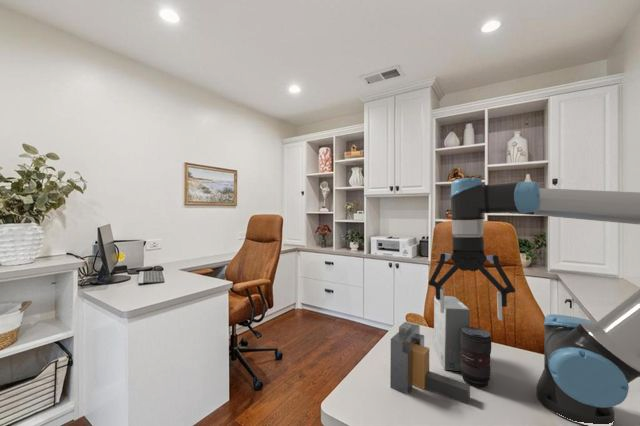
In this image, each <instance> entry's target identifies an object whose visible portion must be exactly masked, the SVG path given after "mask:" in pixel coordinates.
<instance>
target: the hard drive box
mask: <svg viewBox="0 0 640 426" xmlns="http://www.w3.org/2000/svg"><path fill="white" fill-rule="evenodd" d="M433 297H434V298H433V300H434V301H433V305H434V306H433V349H434V351H435V353H436V355H437V357H438V360H439V361H440V364H441V365H442V367H443V369H444V370H446V371H455V372H461V366H460V363H461V343H460V341H461V331H462V328H463V327H471V325H470V322H471V321H470V317H471V309H470V308H469V307H467V306H466V304H465V303H463V302H462V301H461V300H460V299H458V298H457V297H456V296H451V295H450V296H449V295H444V313H441V307H440V300H437V299H436V295H434V296H433Z"/></svg>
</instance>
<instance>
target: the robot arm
mask: <svg viewBox="0 0 640 426" xmlns="http://www.w3.org/2000/svg"><path fill="white" fill-rule="evenodd" d="M450 207H451V234H452V235H453V237H452V241H451V242H452V253H446V252H441V254H440V255H439V256H440V257H439V261H438V264H437V266H436V268H435V270H434V272H433V273H432V276H431V277H430V280H429V281H428V285H429V286H431V287H434V289H435V296H436V299H437V300H440V307H441V313H444V296H445V288H444V286H443V285H444V284H445V283H446V282H447V281H448V280H449V279H450V278H451V277H452V275H454V273H456V272H457V271H458V270H461V271H463V272H464V271H465V272H466V271H469V272H476V271H478V270H479V272H481V273H482V275H484V277H486V278H487V280H488V281H489V282H490V283H491V284H492V285H493V286H494V287H495V288H496V289H497V290H498V291H497V292H496V299H497V300H496V304H497V307H496V309H497V319H498V321H503V307H505V308H506V307H507V306H508V301H507V299H508V298H507V297H508V294H510V293H511V294H512V293H515V292H516V289H515V287H514V285H513V283H511V281H510V278H508V276H507V274H506V272H505V271H504V269H503V267H502V266H501V264H500V259H499V256H498V255H497V254H496V253H493V254H491V255H486V254H485V241H484V239H485V238H484V237H483V235H484V214H513V215H514V214H518V215H530V216H542V217H553V218H563V219H565V218H566V219H576V220H587V221H597V222H607V223H608V222H609V223H618V224H619V223H621V224H630V225H640V192H639V191H638V192H636V191H618V190H617V191H616V190H615V191H614V190H612V191H611V190H591V189H589V190H588V189H587V190H586V189H567V188H542V187H540V185H539V182H536V181H518V182H506V183H505V182H504V183H496V184H495V183H494V184H483V181H482V178H480V177H463V178H457V179H455V180H453V181H452V182H451V190H450ZM449 259H451V261H453V263H454V264H453V265H452V266H451V268H449V270H447V272H446V273H445V274H444V275H443V276H441V278H440V279H439V280H438V281H436V279H437V278H438V276H439V274H440V272H441V270H442V269H443V267H444V264H445V262H448V261H449ZM486 261H489V263H490V264H493V266H494V267H495V269H496V270H497V273H498V275H499V276H500V277H501V279H502V281H503V282H504V284H505V286H506V287H504V286H503V285H502V284H501V283H500V282H499V281H498V279H496V278H495V277H494V276H493V275H492V273H490V272H489V270H488V268H486V267H485V266H484V264H485V263H486ZM543 326H544V337H543V339H544V340H543V341H544V344H543V345H544V350H543V351H544V352H543V353H544V357H543V358H544V361H543V362H544V366H543V371H542V372H541V375H540V377H539V378H538V381H537V384H536V386H535V397H536V398H537V400H538V402H539V403H540V404H541V405H542V406H544V408H546V409H547V410H549V411H550V410H551V411H550V412H552V411H553V412H555V413H558V414H560V415H562V416H564V417H566V418H568V419H571V420H573V421H577V422H584V423H593V424H609V423H612V422H613V421H614V422H615V411H614V408H613V407H615V406H619V405H621V404H622V403H623V402H625V400H626V398H627V397H628V393H629V388H630V387H629V384H630V383H631V382H633V381H634V380H636V379H637V378H638V377H640V288H639V289H638V290H637V291H636V292H634V293H632V295H630V296H629V297H628V298H627V299H625V300H624V301H623V302H621V303H620V304H619V305H617V306H616V307H615V308H613V309H612V310H611V311H609V312H608V313H607V314H605V315H604V316H603V317H602V318H600V319H599V320H597V321H594V320H590V319H585V318H582V317H577V316H571V315H565V314H564V315H563V314H554V313H553V314H548V315H547V314H546V316H545V317H544V323H543ZM553 412H552V413H553ZM555 413H554V414H555Z"/></svg>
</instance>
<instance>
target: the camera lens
mask: <svg viewBox="0 0 640 426" xmlns="http://www.w3.org/2000/svg"><path fill="white" fill-rule="evenodd" d="M460 343H461V363H460V366H461V371H460V373H461V375H462V380H463V382H464V383H466V384H469V385H470V387H474V388H478V389H483V388H484V389H485V388H487V387H488V386H489V381H490V378H491V367H492V366H491V353H492V336H491V332H489V331H487V330H485V329H482V328H479V327H475V326H470V327H463V328H462V331H461V341H460Z"/></svg>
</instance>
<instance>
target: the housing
mask: <svg viewBox="0 0 640 426" xmlns="http://www.w3.org/2000/svg"><path fill="white" fill-rule="evenodd" d="M420 328H421V327H420V325H419V324H414V323H411V322H407V321H404V322H403V323H402V324H401V325H399V326H398V332H397V333H396V334H394V335H393V336H392V337H391V338H390V374H389V375H390V382H389V383H390V386H389V387H390V388H391V389H393V390H396V391H398V392H401V393H402V394H403V393H404V394H406V395H408V394H409V393H410V392H411V390H412V389H413V385H412V374H413V348H409V347H410V346H411V345H412V343H414V344H417V345H421V346H424V347H425V335H423V334H421V333H420V330H421V329H420Z"/></svg>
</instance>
